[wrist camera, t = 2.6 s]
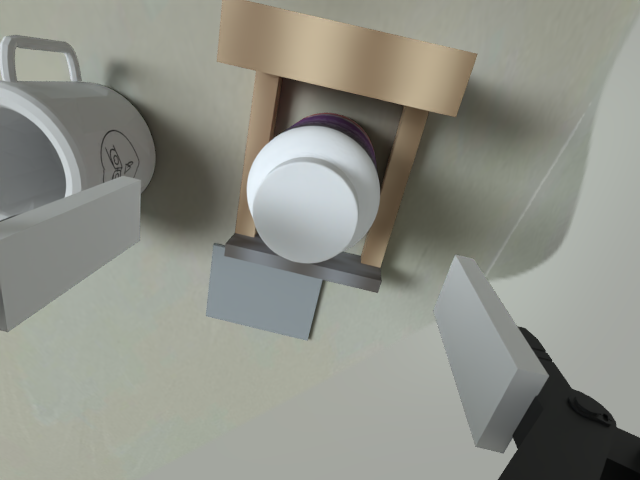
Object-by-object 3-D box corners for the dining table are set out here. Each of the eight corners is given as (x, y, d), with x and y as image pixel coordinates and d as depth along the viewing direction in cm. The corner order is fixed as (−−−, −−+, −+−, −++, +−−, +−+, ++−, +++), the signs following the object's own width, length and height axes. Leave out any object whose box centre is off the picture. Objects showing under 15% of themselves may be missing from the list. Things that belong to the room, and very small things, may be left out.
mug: (161, 210, 36) (91, 254, 27) (53, 193, 36) (-51, 231, 27) (154, 54, 31) (64, 41, 21) (28, 37, 31) (-112, 17, 22)
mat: (207, 313, 40) (205, 315, 39) (215, 243, 37) (213, 244, 36) (307, 338, 40) (307, 340, 39) (324, 269, 36) (324, 271, 36)
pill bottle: (282, 108, 31) (222, 127, 18) (379, 114, 30) (392, 137, 17) (281, 202, 34) (230, 277, 21) (370, 209, 34) (374, 290, 20)
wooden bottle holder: (238, 238, 36) (195, 291, 27) (267, 23, 29) (222, -5, 20) (376, 271, 36) (380, 336, 27) (440, 63, 29) (477, 53, 19)
